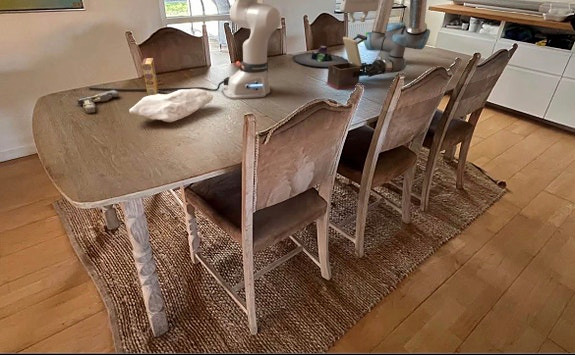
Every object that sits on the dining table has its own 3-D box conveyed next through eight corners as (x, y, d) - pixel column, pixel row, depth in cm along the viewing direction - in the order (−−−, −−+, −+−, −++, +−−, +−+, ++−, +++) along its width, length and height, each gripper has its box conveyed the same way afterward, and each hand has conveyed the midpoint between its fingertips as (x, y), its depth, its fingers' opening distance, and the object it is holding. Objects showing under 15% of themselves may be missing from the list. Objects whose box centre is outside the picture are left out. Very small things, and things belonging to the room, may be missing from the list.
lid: (354, 42, 174) (368, 33, 175) (342, 37, 180) (356, 29, 182) (360, 66, 182) (373, 57, 184) (348, 61, 189) (361, 53, 191)
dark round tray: (359, 62, 224) (361, 47, 219) (315, 70, 207) (315, 53, 202) (323, 53, 249) (324, 39, 244) (281, 59, 231) (281, 44, 227)
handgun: (128, 97, 156) (111, 87, 164) (86, 107, 144) (70, 97, 152) (129, 103, 157) (113, 94, 165) (88, 114, 146) (72, 103, 154)
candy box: (157, 97, 164) (152, 63, 155) (147, 98, 163) (141, 63, 155) (158, 91, 171) (153, 57, 163) (149, 91, 170) (143, 58, 162)
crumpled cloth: (117, 110, 146) (113, 90, 140) (195, 92, 166) (194, 73, 160) (143, 139, 134) (140, 118, 128) (223, 116, 154) (224, 96, 148)
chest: (337, 89, 183) (339, 69, 177) (326, 83, 190) (328, 64, 184) (358, 86, 188) (360, 67, 183) (346, 80, 195) (349, 62, 190)
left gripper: (347, -10, 160) (343, 24, 168) (382, -10, 169) (377, 22, 176) (339, -11, 165) (335, 21, 172) (374, -12, 174) (369, 20, 181)
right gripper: (394, 79, 190) (360, 85, 180) (366, 68, 206) (334, 72, 196) (397, 65, 186) (362, 70, 176) (369, 54, 202) (336, 58, 192)
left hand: (357, 22), depth 174 cm, fingers open, 5 cm apart
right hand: (347, 71), depth 186 cm, fingers closed on chest, 10 cm apart
